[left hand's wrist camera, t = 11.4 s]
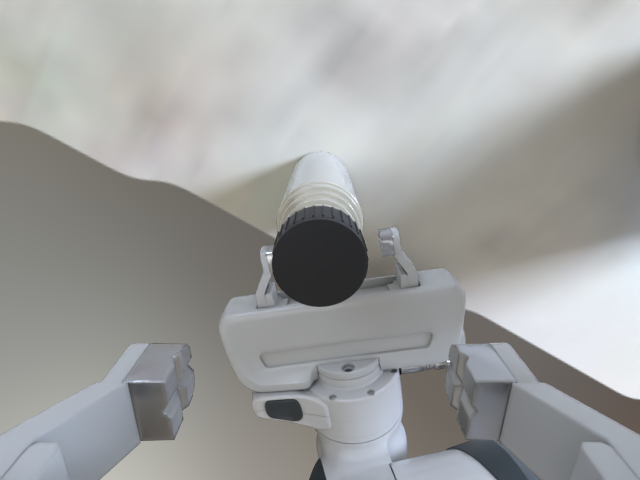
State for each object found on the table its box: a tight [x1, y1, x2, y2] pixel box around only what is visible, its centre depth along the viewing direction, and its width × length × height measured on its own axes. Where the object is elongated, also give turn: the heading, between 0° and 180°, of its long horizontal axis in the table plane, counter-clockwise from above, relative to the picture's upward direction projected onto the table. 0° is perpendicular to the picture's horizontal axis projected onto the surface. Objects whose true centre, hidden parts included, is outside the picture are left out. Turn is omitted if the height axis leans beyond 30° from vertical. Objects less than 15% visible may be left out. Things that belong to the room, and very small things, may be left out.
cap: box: [272, 205, 368, 307], centre depth 18 cm, size 4×4×2 cm
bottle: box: [277, 151, 363, 232], centre depth 26 cm, size 5×5×18 cm
